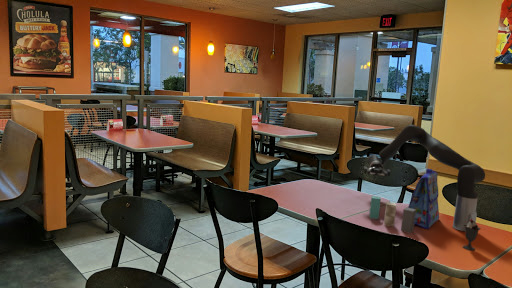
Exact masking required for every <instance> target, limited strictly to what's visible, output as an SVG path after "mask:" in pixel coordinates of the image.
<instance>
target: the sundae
mask: <svg viewBox="0 0 512 288" xmlns="http://www.w3.org/2000/svg"><path fill="white" fill-rule="evenodd" d="M470 216H471V215H470ZM464 227H465V229H466V232H465V239H466V240H467V241H468V244H467V245H463V246H462V248H463V249H465V250H467V251H475V250H476V248H475V247H472V242H474V241H475V240H476V239H477V236H478V234H479V230H481V227H479V226H478V224H477V222H474V221H473V220H472V217H471V220H470V221H469V222H468V223H467V225H464Z"/></svg>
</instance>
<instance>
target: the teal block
mask: <svg viewBox="0 0 512 288" xmlns="http://www.w3.org/2000/svg"><path fill="white" fill-rule="evenodd" d="M380 208H381V196H377V195H371V199H370V207H369V219H375V220H379V219H380V217H379V215H380V210H381V209H380Z"/></svg>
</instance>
